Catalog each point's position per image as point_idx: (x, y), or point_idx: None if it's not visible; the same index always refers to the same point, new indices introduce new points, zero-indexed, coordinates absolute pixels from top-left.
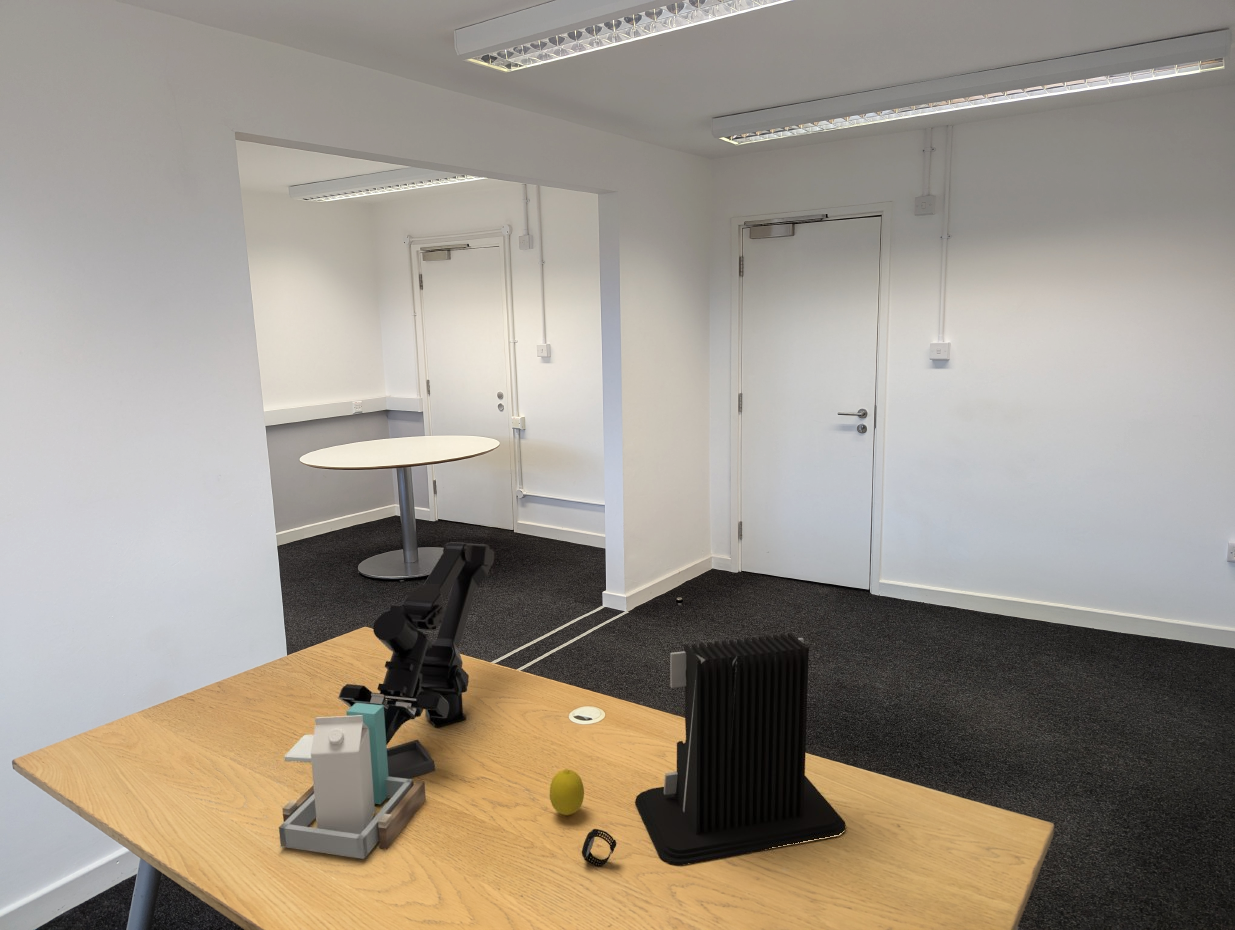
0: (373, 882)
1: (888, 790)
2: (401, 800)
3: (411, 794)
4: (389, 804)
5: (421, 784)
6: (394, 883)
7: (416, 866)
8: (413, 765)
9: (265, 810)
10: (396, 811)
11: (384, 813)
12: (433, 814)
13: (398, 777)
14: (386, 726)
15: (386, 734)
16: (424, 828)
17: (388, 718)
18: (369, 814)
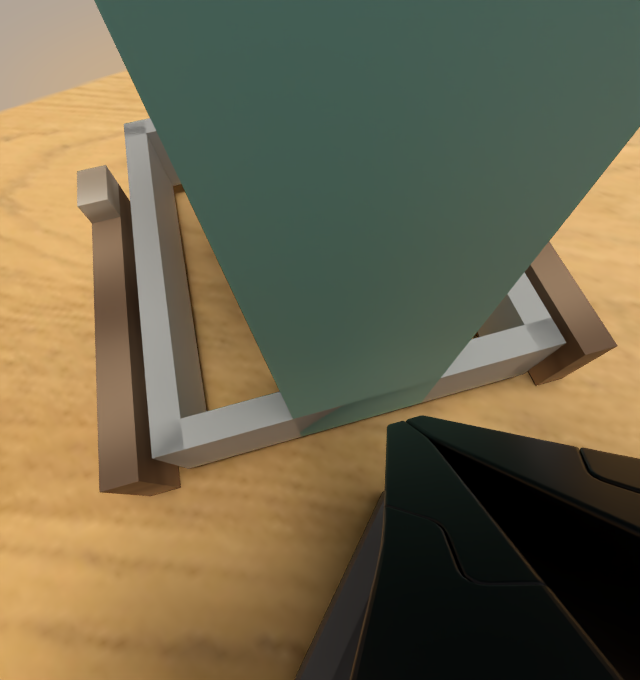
0: (94, 156)
1: None
2: (124, 318)
3: (104, 369)
4: (147, 269)
5: (99, 456)
6: (43, 173)
7: (14, 230)
8: (327, 675)
9: (604, 202)
10: (104, 261)
11: (133, 226)
12: (72, 432)
13: (353, 557)
14: (427, 509)
15: (385, 478)
16: (67, 356)
17: (469, 589)
18: None
